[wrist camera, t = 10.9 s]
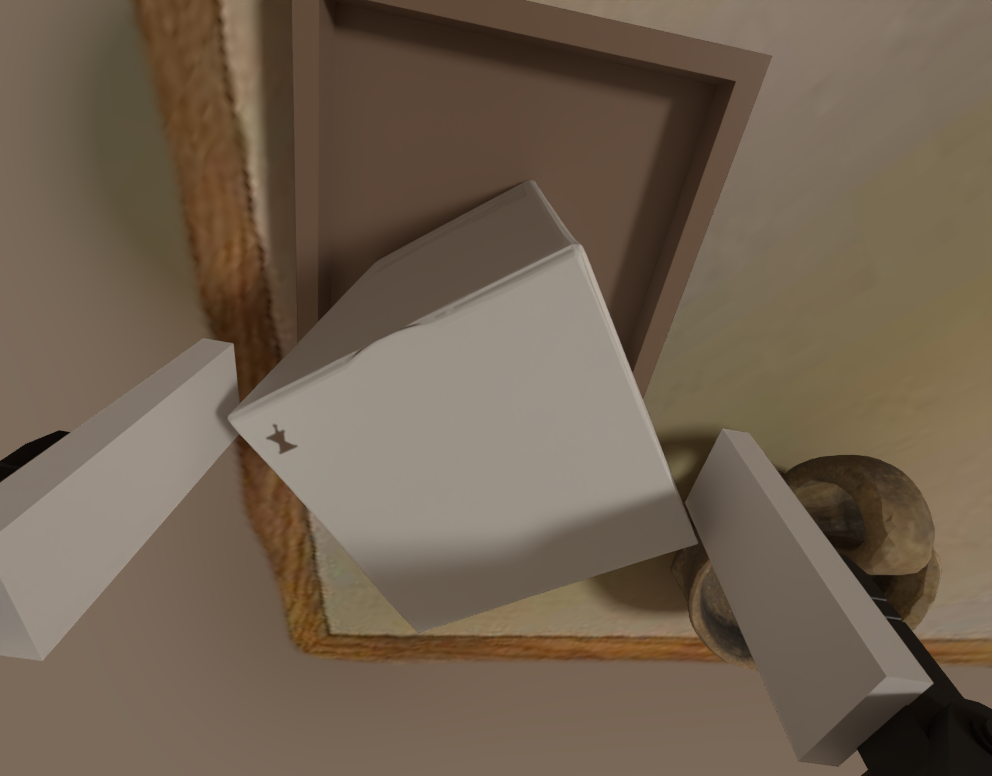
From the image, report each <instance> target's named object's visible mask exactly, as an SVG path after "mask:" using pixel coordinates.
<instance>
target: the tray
mask: <svg viewBox="0 0 992 776" xmlns="http://www.w3.org/2000/svg"><path fill="white" fill-rule="evenodd" d="M292 49H293V105H294V161H295V218H296V274H297V330H298V342H299V341H300V340H301V339H302V338H303V337H304V336H305V335H306V334H307V333H308V332H309V331H310V330H311V329H312V328H313V327H314V326H315V325H316V324H317V322H318V321H319V320H320V319H321V318H322V317H323V316H324V315H325V314H326V313H327V312H328V311H329V310H330V309H331V308H332V307H333V306H334V305H335V304H336V303H337V302H338V301H339V300H340V298H341V297H342V296H343V295H344V294H345V293H346V292H347V291H348V290H349V289H350V288H351V287H352V286H353V285H354V284H355V283H356V282H357V281H358V280H359V279H360V278H361V277H362V276H363V275H364V274H365V273H366V272H367V270H368V269H369V268H370V267H371V266H372V265H373V264H374V263H375V262H376V261H378V260H380V259H381V258H383V257H385V256H387V255H389V254H390V253H392V252H394V251H396V250H398V249H400V248H402V247H403V246H405V245H407V244H409V243H411V242H413V241H415V240H416V239H418V238H420V237H422V236H424V235H426V234H428V233H429V232H431V231H433V230H435V229H437V228H439V227H441V226H443V225H444V224H446V223H448V222H450V221H452V220H454V219H456V218H457V217H459V216H461V215H463V214H465V213H467V212H469V211H471V210H473V209H474V208H476V207H478V206H480V205H482V204H484V203H486V202H488V201H489V200H491V199H493V198H495V197H497V196H499V195H501V194H503V193H505V192H506V191H508V190H510V189H512V188H514V187H516V186H518V185H520V184H522V183H524V182H525V181H528V180H533V181H535V182H536V184H537V186H538V187H539V189H540V190H541V192H542V193H543V195H544V196H545V198H546V199H547V201H548V202H549V203H550V205H551V206H552V208H553V209H554V211H555V212H556V214H557V215H558V217H559V218H560V220H561V221H562V222H563V224H564V225H565V227H566V228H567V229H568V231H569V232H570V234H571V235H572V236H573V237H574V238H575V240H576V241H577V242H578V243H580V244H581V245H582V246H583V248H584V251H585V253H586V255H587V257H588V260H589V262H590V265H591V268H592V270H593V273H594V275H595V278H596V280H597V283H598V286H599V288H600V291H601V293H602V296H603V299H604V301H605V304H606V306H607V309H608V312H609V314H610V317H611V319H612V322H613V324H614V327H615V330H616V332H617V335H618V337H619V340H620V342H621V345H622V348H623V350H624V353H625V355H626V358H627V360H628V363H629V366H630V368H631V371H632V373H633V376H634V378H635V381H636V384H637V386H638V389H639V391H640V394H641V396H642V399H643V398H644V395H645V392H646V390H647V387H648V384H649V382H650V379H651V376H652V374H653V371H654V369H655V366H656V363H657V361H658V358H659V355H660V353H661V350H662V347H663V345H664V342H665V339H666V337H667V334H668V331H669V329H670V326H671V323H672V321H673V318H674V315H675V313H676V310H677V307H678V305H679V302H680V300H681V297H682V294H683V292H684V289H685V286H686V284H687V281H688V278H689V276H690V273H691V270H692V268H693V265H694V262H695V260H696V257H697V254H698V252H699V249H700V246H701V244H702V241H703V238H704V236H705V233H706V230H707V228H708V225H709V223H710V220H711V217H712V215H713V212H714V209H715V207H716V204H717V201H718V199H719V196H720V193H721V191H722V188H723V185H724V183H725V180H726V177H727V175H728V172H729V169H730V167H731V164H732V161H733V159H734V156H735V153H736V151H737V148H738V146H739V143H740V140H741V138H742V135H743V132H744V130H745V127H746V124H747V122H748V119H749V116H750V114H751V111H752V108H753V106H754V103H755V100H756V98H757V95H758V92H759V90H760V87H761V84H762V82H763V79H764V77H765V74H766V71H767V69H768V66H769V63H770V61H771V58H772V56H771V55H766V54H762V53H758V52H753V51H749V50H744V49H740V48H735V47H731V46H726V45H722V44H717V43H713V42H709V41H704V40H700V39H695V38H691V37H686V36H682V35H677V34H673V33H668V32H664V31H660V30H655V29H651V28H646V27H642V26H637V25H633V24H628V23H624V22H619V21H615V20H611V19H606V18H602V17H597V16H593V15H588V14H584V13H579V12H575V11H571V10H566V9H562V8H557V7H553V6H548V5H544V4H539V3H535V2H530V1H526V0H292Z"/></svg>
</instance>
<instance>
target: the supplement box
mask: <svg viewBox="0 0 992 776" xmlns="http://www.w3.org/2000/svg"><path fill="white" fill-rule="evenodd" d="M228 421H229V422H230V423H231V424H232V425H233V427H234V428H235V429H236V430H237V432H238V433H239V434H240V435H241V436H242V437H243V438H244V439H245V440H246V441H247V442H248V443H249V445H250V446H251V447H252V448H253V449H254V450H255V451H256V452H257V453H258V454H259V455H260V456H261V457H262V458H263V460H264V461H265V462H266V463H267V464H268V465H269V466H270V467H271V468H272V469H273V470H274V471H275V473H276V474H277V475H278V476H279V477H280V478H281V479H282V480H283V481H284V482H285V483H286V485H287V486H288V487H289V488H290V489H291V490H292V491H293V492H294V493H295V495H296V496H297V497H298V498H299V499H300V500H301V501H302V502H303V503H304V505H305V506H306V507H307V508H308V509H309V510H310V511H311V512H312V513H313V515H314V516H315V517H316V518H317V519H318V520H319V521H320V522H321V523H322V525H323V526H324V527H325V528H326V529H327V530H328V531H329V532H330V534H331V535H332V536H333V537H334V538H335V539H336V540H337V542H338V543H339V544H340V545H341V546H342V547H343V548H344V550H345V551H346V552H347V553H348V554H349V555H350V556H351V558H352V559H353V560H354V562H355V563H356V564H357V565H358V566H359V567H360V568H361V570H362V571H363V572H364V573H365V574H366V576H367V577H368V578H369V579H370V580H371V581H372V583H373V584H374V585H375V586H376V587H377V589H378V590H379V591H380V592H381V593H382V595H383V596H384V597H385V598H386V599H387V600H388V602H389V603H390V604H391V605H392V606H393V607H394V608H395V609H396V610H397V611H398V612H399V613H400V614H401V616H402V617H403V618H404V619H405V620H406V621H407V622H408V623H409V624H410V625H411V626H412V627H413V628H414V629H415V630H416V631H417V632H418V633H421V632H424V631H427V630H430V629H433V628H435V627H439V626H442V625H445V624H448V623H451V622H454V621H457V620H460V619H463V618H466V617H470V616H473V615H476V614H479V613H482V612H485V611H488V610H491V609H494V608H497V607H500V606H503V605H506V604H509V603H512V602H515V601H518V600H521V599H524V598H527V597H530V596H534V595H537V594H540V593H543V592H546V591H550V590H553V589H556V588H559V587H562V586H566V585H569V584H572V583H575V582H578V581H581V580H584V579H587V578H591V577H594V576H597V575H600V574H603V573H606V572H609V571H613V570H616V569H619V568H622V567H625V566H628V565H632V564H635V563H638V562H641V561H644V560H647V559H651V558H654V557H657V556H660V555H663V554H666V553H670V552H673V551H676V550H680V549H683V548H686V547H690V546H693V545H696V544H698V540H697V538H696V536H695V534H694V531H693V528H692V525H691V523H690V520H689V518H688V515H687V513H686V510H685V508H684V505H683V503H682V500H681V498H680V495H679V492H678V490H677V487H676V485H675V482H674V479H673V477H672V474H671V472H670V469H669V467H668V464H667V461H666V459H665V456H664V453H663V451H662V448H661V446H660V443H659V440H658V438H657V435H656V433H655V430H654V427H653V425H652V422H651V420H650V417H649V414H648V412H647V409H646V407H645V404H644V402H643V399H642V396H641V394H640V391H639V389H638V386H637V384H636V381H635V378H634V376H633V373H632V371H631V368H630V366H629V363H628V360H627V358H626V355H625V353H624V350H623V348H622V345H621V342H620V340H619V337H618V335H617V332H616V330H615V327H614V324H613V322H612V319H611V317H610V314H609V312H608V309H607V306H606V304H605V301H604V299H603V296H602V293H601V291H600V288H599V286H598V283H597V280H596V278H595V275H594V273H593V270H592V268H591V265H590V262H589V260H588V257H587V255H586V253H585V251H584V248H583V246H582V245H581V244H580V243H578V242H577V241H576V240H575V238H574V237H573V236H572V235H571V234H570V232H569V231H568V229H567V228H566V227H565V225H564V224H563V222H562V221H561V220H560V218H559V217H558V215H557V214H556V212H555V211H554V209H553V208H552V206H551V205H550V203H549V202H548V201H547V199H546V198H545V196H544V195H543V193H542V192H541V190H540V189H539V187H538V186H537V184H536V182H535V181H533V180H528V181H525V182H524V183H522V184H520V185H518V186H516V187H514V188H512V189H510V190H508V191H506V192H505V193H503V194H501V195H499V196H497V197H495V198H493V199H491V200H489V201H488V202H486V203H484V204H482V205H480V206H478V207H476V208H474V209H473V210H471V211H469V212H467V213H465V214H463V215H461V216H459V217H457V218H456V219H454V220H452V221H450V222H448V223H446V224H444V225H443V226H441V227H439V228H437V229H435V230H433V231H431V232H429V233H428V234H426V235H424V236H422V237H420V238H418V239H416V240H415V241H413V242H411V243H409V244H407V245H405V246H403V247H402V248H400V249H398V250H396V251H394V252H392V253H390V254H389V255H387V256H385V257H383V258H381V259H380V260H378V261H376V262H375V263H374V264H373V265H372V266H371V267H370V268H369V269H368V270H367V272H366V273H365V274H364V275H363V276H362V277H361V278H360V279H359V280H358V281H357V282H356V283H355V284H354V285H353V286H352V287H351V288H350V289H349V290H348V291H347V292H346V293H345V294H344V295H343V296H342V297H341V298H340V300H339V301H338V302H337V303H336V304H335V305H334V306H333V307H332V308H331V309H330V310H329V311H328V312H327V313H326V314H325V315H324V316H323V317H322V318H321V319H320V320H319V321H318V322H317V324H316V325H315V326H314V327H313V328H312V329H311V330H310V331H309V332H308V333H307V334H306V335H305V336H304V337H303V338H302V339H301V340H300V341H299V342H298V343H297V345H296V346H295V347H294V348H293V349H292V350H291V351H290V352H289V353H288V354H287V355H286V356H285V357H284V358H283V359H282V360H281V361H280V362H279V363H278V364H277V365H276V366H275V367H274V368H273V369H272V370H271V371H270V372H269V374H268V375H267V376H266V377H265V378H264V379H263V380H262V381H261V382H260V383H259V384H258V385H257V386H256V387H255V388H254V389H253V390H252V392H251V393H250V394H249V395H248V396H247V397H246V398H245V399H244V400H243V401H242V402H241V403H240V404H239V405H238V406H237V407H236V408H235V409H234V410H233V411H232V412H231V413H230V415H229V416H228Z"/></svg>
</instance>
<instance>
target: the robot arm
mask: <svg viewBox="0 0 992 776" xmlns="http://www.w3.org/2000/svg"><path fill="white" fill-rule="evenodd" d="M239 404H240V402H239V392H238V382H237V373H236V363H235V354H234V344H233V343H228V342H223V341H217V340H211V339H205V338H202V339H201V340H200V341H198V342H197V343H195V344H194V345H193V346H191V347H190V348H188V349H187V350H186V351H184V352H183V353H181V354H180V355H179V356H177V357H176V358H174V359H173V360H172V361H170V362H169V363H167V364H166V365H165V366H163V367H162V368H160V369H159V370H158V371H156V372H155V373H153V374H152V375H151V376H149V377H148V378H146V379H145V380H143V381H142V382H141V383H139V384H138V385H137V386H135V387H134V388H132V389H131V390H130V391H128V392H127V393H125V394H124V395H123V396H121V397H120V398H118V399H117V400H116V401H114V402H113V403H111V404H110V405H108V406H107V407H106V408H104V409H103V410H101V411H100V412H99V413H97V414H96V415H94V416H93V417H92V418H90V419H89V420H87V421H86V422H85V423H83V424H82V425H80V426H79V427H78V428H76V429H75V430H73V431H72V432H66V431H56V432H54V433H52V434H49V435H47V436H44V437H42V438H39V439H37V440H34V441H32V442H29V443H27V444H25V445H24V446H22V447H20V448H19V449H17V450H16V451H15V452H13V453H11V454H10V455H8V456H7V457H5V458H4V459H3V460H1V461H0V655H2V656H10V657H17V658H25V659H32V660H40V661H43V660H44V659H45V657H46V656H47V655H48V654H49V653H50V652H51V650H52V649H53V648H54V647H55V646H56V645H57V644H58V642H59V641H60V640H61V639H62V638H63V637H64V635H65V634H66V633H67V632H68V631H69V630H70V629H71V627H72V626H73V625H74V624H75V623H76V621H77V620H78V619H79V618H80V617H81V616H82V615H83V614H84V612H85V611H86V610H87V609H88V608H89V607H90V605H91V604H92V603H93V602H94V600H96V599H97V597H98V596H99V595H100V594H101V593H102V591H103V590H104V589H105V588H106V587H107V586H108V585H109V584H110V582H111V581H112V580H113V579H114V578H115V577H116V575H117V574H118V573H119V572H120V571H121V570H122V569H123V567H124V566H125V565H126V564H127V563H128V562H129V561H130V559H131V558H132V557H133V556H134V555H135V554H136V552H137V551H138V550H139V549H140V548H141V547H142V546H143V544H144V543H145V542H146V541H147V540H148V539H149V537H150V536H151V535H152V534H153V533H154V532H155V530H156V529H157V528H158V527H159V526H160V525H161V524H162V522H163V521H164V520H165V519H166V518H167V517H168V516H169V514H170V513H171V512H172V511H173V510H174V508H175V507H176V506H177V505H178V504H179V503H180V502H181V501H182V499H183V498H184V497H185V496H186V494H188V492H189V491H190V490H191V489H192V488H193V487H194V485H195V484H196V483H197V482H198V481H199V480H200V478H201V477H202V476H203V475H204V474H205V473H206V472H207V470H208V469H209V468H210V467H211V466H212V465H213V464H214V462H215V461H216V460H217V459H218V458H219V457H220V456H221V454H222V453H223V452H224V451H225V450H226V449H227V447H228V446H229V445H230V444H231V443H232V442H233V441H234V439H235V438H236V437H237V436H238V435H239V433H238V432H237V430H236V429H235V428H234V427H233V425H232V424H231V423H230V422H229V421H228V416H229V415H230V413H231V412H232V411H233V410H234V409H235V408H236V407H237V406H238V405H239ZM685 504H686V507H687V509H688V511H689V513H690V516H691V518H692V520H693V523H694V525H695V527H696V529H697V532H698V534H699V536H700V539H701V541H702V543H703V545H704V548H705V550H706V552H707V554H708V557H709V559H710V561H711V564H712V566H713V568H714V570H715V573H716V575H717V577H718V580H719V582H720V584H721V586H722V589H723V591H724V593H725V596H726V598H727V600H728V602H729V605H730V607H731V609H732V612H733V614H734V616H735V618H736V621H737V623H738V625H739V627H740V630H741V632H742V634H743V637H744V639H745V641H746V643H747V646H748V648H749V650H750V653H751V655H752V657H753V659H754V662H755V664H756V666H757V669H758V671H759V673H760V675H761V678H762V680H763V682H764V685H765V687H766V689H767V691H768V694H769V696H770V698H771V700H772V703H773V705H774V707H775V710H776V712H777V714H778V716H779V719H780V721H781V723H782V726H783V728H784V730H785V732H786V735H787V737H788V739H789V742H790V744H791V746H792V748H793V751H794V753H795V755H796V758H797V760H798V761H800V762H807V763H815V764H822V765H830V766H839V765H840V764H842V763H843V762H844V761H845V760H846V759H847V758H849V757H850V756H851V755H852V754H853V753H854V752H855V751H857V750H858V752H859V754H860V755H861V757H862V759H863V761H864V763H865V765H866V767H867V768H868V770H867V771H866V772H865V773H864V774H862V775H861V776H992V709H991V708H989V707H987V706H985V705H983V704H981V703H979V702H975V701H972V700H967V699H964V697H963V696H962V695H961V694H960V693H959V691H958V690H957V689H956V687H955V686H954V685H953V683H952V682H951V681H950V680H949V678H948V677H947V676H946V674H945V673H944V672H943V671H942V669H941V668H940V667H939V665H938V664H937V663H936V661H935V660H934V659H933V658H932V656H931V655H930V654H929V652H928V651H927V650H926V648H925V647H924V646H923V645H922V643H921V642H920V641H919V639H918V638H917V637H916V635H915V634H914V633H913V632H912V630H911V629H910V628H909V626H908V625H907V624H906V622H902V621H901V618H902V617H901V616H900V615H899V613H898V612H897V611H896V609H895V608H894V607H893V606H892V604H891V603H887V598H886V596H885V595H884V594H883V593H882V591H881V590H880V589H879V587H878V586H877V585H876V584H875V582H874V581H873V580H872V578H871V577H870V576H869V575H868V574H867V573H866V572H865V571H864V570H862V569H861V568H860V567H859V566H858V565H857V564H856V563H854V562H853V561H852V560H851V559H850V558H849V557H848V556H846V555H843V554H838V553H837V551H836V550H835V549H834V547H833V546H832V545H831V543H830V542H829V541H828V539H827V538H826V537H825V535H824V534H823V533H822V531H821V530H820V528H819V527H818V526H817V524H816V523H815V522H814V520H813V519H812V518H811V516H810V515H809V514H808V512H807V511H806V509H805V508H804V507H803V505H802V504H801V503H800V501H799V500H798V499H797V497H796V496H795V495H794V493H793V492H792V490H791V489H790V488H789V486H788V485H787V484H786V482H785V481H784V480H783V478H782V477H781V476H780V474H779V473H778V471H777V470H776V469H775V467H774V466H773V465H772V463H771V462H770V461H769V459H768V458H767V457H766V455H765V454H764V452H763V451H762V450H761V448H760V447H759V446H758V444H757V443H756V442H755V440H754V439H753V438H752V436H751V435H750V434H749V433H746V432H740V431H735V430H729V429H723V428H722V430H721V432H720V434H719V436H718V438H717V440H716V442H715V444H714V446H713V448H712V450H711V452H710V454H709V456H708V458H707V460H706V462H705V464H704V466H703V468H702V470H701V472H700V474H699V476H698V477H697V479H696V481H695V483H694V485H693V487H692V489H691V491H690V493H689V495H688V497H687V499H686V501H685Z"/></svg>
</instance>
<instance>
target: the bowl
mask: <svg viewBox="0 0 992 776" xmlns="http://www.w3.org/2000/svg"><path fill="white" fill-rule="evenodd" d="M781 477H782V478H783V480H784V481H785V482H786V484H787V485H788V486H789V488H790V489H791V490H792V492H793V493H794V495H795V496H796V497H797V499H798V500H799V501H800V503H801V504H802V505H803V507H804V508H805V509H806V511H807V512H808V514H809V515H810V516H811V518H812V519H813V520H814V522H815V523H816V524H817V526H818V527H819V528H820V530H821V531H822V533H823V534H824V535H825V537H826V538H827V539H828V541H829V542H830V543H831V545H832V546H833V547H834V549H835V550H836V551H837V553H838V554H843V555H846V556H848V557H849V558H850V559H851V560H852V561H853V562H854V563H856V564H857V565H858V566H859V567H860V568H861V569H862V570H864V571H865V572H866V573H867V574H868V575H869V576H870V577H871V578H872V580H873V581H874V582H875V584H876V585H877V586H878V587H879V589H880V590H881V591H882V593H883V594H884V595H885V596H886V598H887V603H891V604H892V606H893V607H894V608H895V609H896V611H897V612H898V613H899V615H900V616H901V617H902V618H901V621H902V622H906V624H907V625H908V626H909V628H910V629H911V630H914V629H915V628H916V627H917V626H918V625H919V623H920V622H921V621H922V619H923V618H924V616H925V615H926V613H927V612H928V610H929V608H930V607H931V605H932V604H933V602H934V600H935V597H936V593H937V590H938V586H939V583H940V578H941V573H942V568H941V563H940V559H939V556H938V555H937V553H936V552H935V550H934V548H933V543H934V537H935V529H934V525H933V521H932V517H931V513H930V511H929V508H928V505H927V503H926V501H925V499H924V497H923V496H922V494H921V492H920V491H919V489H918V488H917V486H916V485H915V484H914V482H913V481H912V480H911V479H910V478H909V477H908V476H907V475H906V474H904V473H903V472H902V471H901V470H899V469H898V468H896V467H894V466H893V465H891V464H888V463H886V462H884V461H881V460H879V459H876V458H872V457H868V456H860V455H836V456H825V457H819V458H815V459H811V460H808V461H806V462H803V463H801V464H798V465H796V466H795V467H793V468H791V469H790V470H789V471H788V472H787V473H786V474H785V475H783V476H781ZM693 531H694V534H695V536H696V538H697V540H698V544H696V545H693V546H690V547H686V548H683V549H680V550H678V552H677V554H676V556H675V558H674V560H673V563H672V566H671V570H672V574H673V575H674V577H675V579H676V581H677V583H678V585H679V586H680V588H681V590H682V592H683V593H684V596H685V598H686V600H687V602H688V611H689V618H690V621H691V624H692V626H693V628H694V630H695V632H696V634H697V635H698V636H699V638H700V639H701V641H702V642H703V643H704V644H705V645H706V646H707V647H708V648H709V649H710V650H711V651H712V652H713V653H714V654H715V655H717V656H718V657H719V658H721V659H722V660H724V661H726V662H728V663H730V664H733V665H736V666H739V667H742V668H746V669H750V670H756V671H758V669H757V666H756V664H755V662H754V659H753V657H752V655H751V653H750V650H749V648H748V646H747V643H746V641H745V639H744V637H743V634H742V632H741V630H740V627H739V625H738V623H737V621H736V618H735V616H734V614H733V612H732V609H731V607H730V605H729V602H728V600H727V598H726V596H725V593H724V591H723V589H722V586H721V584H720V582H719V580H718V577H717V575H716V573H715V570H714V568H713V566H712V564H711V561H710V559H709V557H708V554H707V552H706V550H705V548H704V545H703V543H702V541H701V539H700V536H699V534H698V532H697V529H696V527H695V528H694V529H693Z"/></svg>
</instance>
